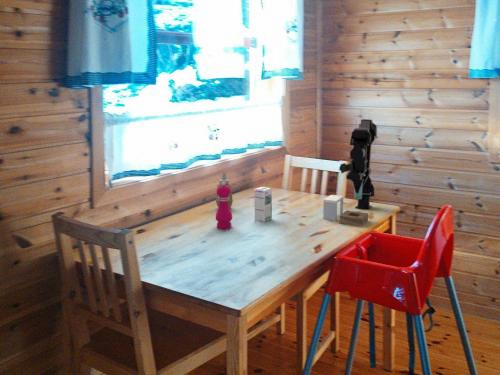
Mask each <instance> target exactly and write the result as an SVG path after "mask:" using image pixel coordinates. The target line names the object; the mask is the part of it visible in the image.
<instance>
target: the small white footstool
mask: <svg viewBox="0 0 500 375" xmlns="http://www.w3.org/2000/svg"><path fill="white" fill-rule="evenodd" d="M338 202H340V204H339V206H340V208H339V216H340V215H342V214H343V213H344V195H338V194H337V195H336V194H330V195H328V196H327V197H325V198H324V199H323V210H322V212H323V213H322V214H323V216H322V219H323V220H330V221H337V218H338V216H337V212H338Z"/></svg>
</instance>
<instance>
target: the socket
mask: <svg viewBox="0 0 500 375" xmlns="http://www.w3.org/2000/svg"><path fill="white" fill-rule="evenodd" d="M367 222H369V213H368V212H361V211H355V210H345V211H343V214H342V215H340V214H339V224H340V225H346V226H354V227H363V226H364V225H365V224H366V223H367Z"/></svg>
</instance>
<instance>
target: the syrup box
mask: <svg viewBox="0 0 500 375" xmlns="http://www.w3.org/2000/svg"><path fill="white" fill-rule="evenodd" d="M253 190H254V191H253V192H254V193H253V196H254V197H253V199H254V201H253V203H254V204H253V205H254V208H253V209H254V220H255V221H258V222H267V221H269V220H272V218H273V214H272V213H273V212H272V211H273V208H272V205H273V204H272V200H273V199H272V198H273V197H272V190H273V189H272V188H271V187H268V186H261V187H257V188H254V189H253Z"/></svg>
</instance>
